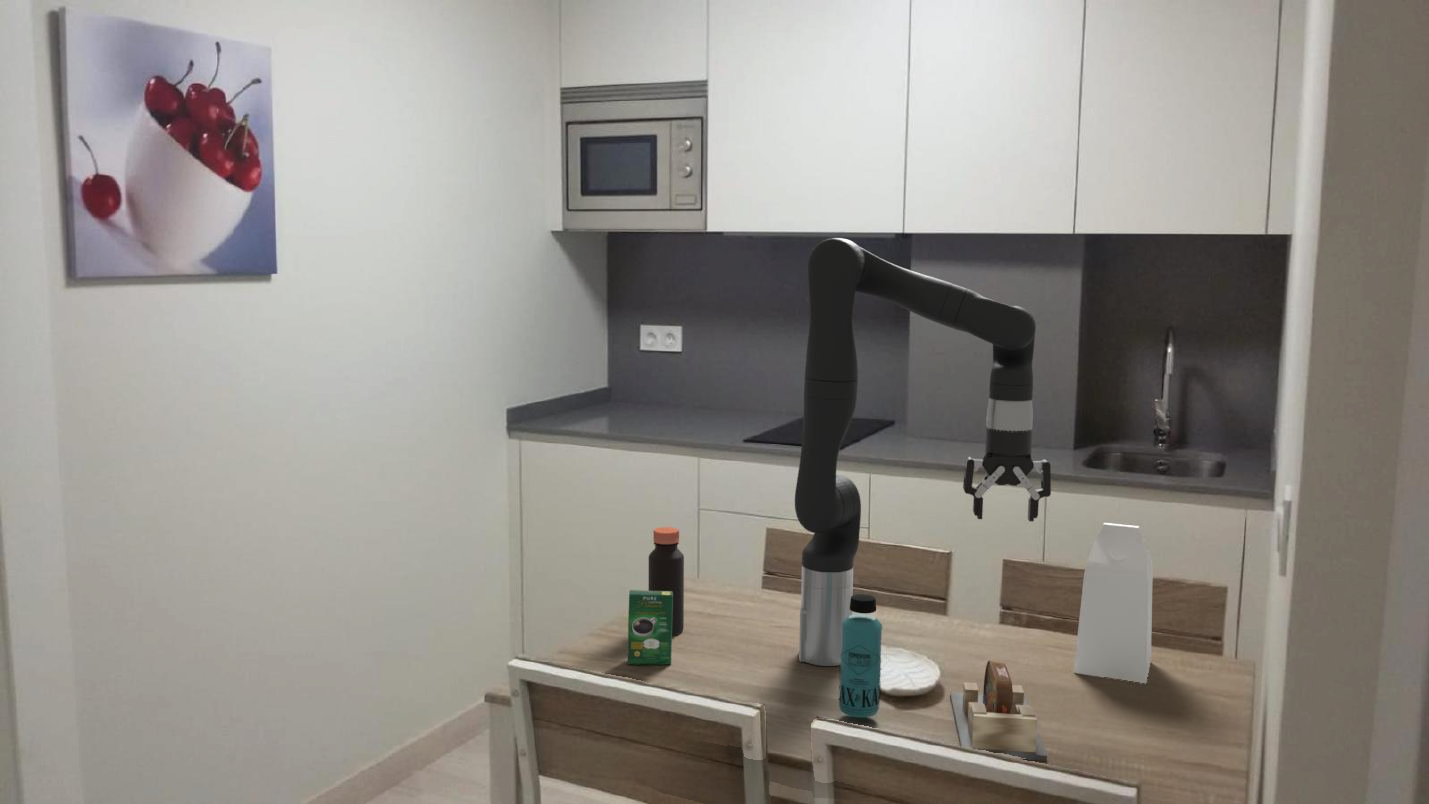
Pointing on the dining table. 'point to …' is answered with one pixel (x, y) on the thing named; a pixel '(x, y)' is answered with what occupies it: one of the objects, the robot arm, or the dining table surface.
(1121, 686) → the dining table surface
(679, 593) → the vinegar
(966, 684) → the clip
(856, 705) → the beverage bottle
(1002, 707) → the tin
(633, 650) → the coffee box
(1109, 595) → the milk
